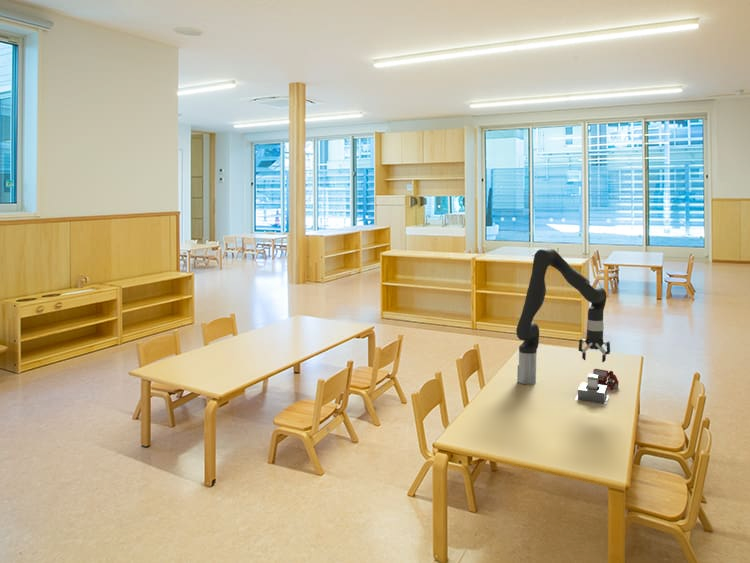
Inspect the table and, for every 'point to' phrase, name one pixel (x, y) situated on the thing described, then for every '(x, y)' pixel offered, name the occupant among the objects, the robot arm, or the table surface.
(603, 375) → the toy fire truck
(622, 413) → the table surface
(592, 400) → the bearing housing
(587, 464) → the table surface
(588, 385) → the brushed square peg
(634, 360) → the table surface
